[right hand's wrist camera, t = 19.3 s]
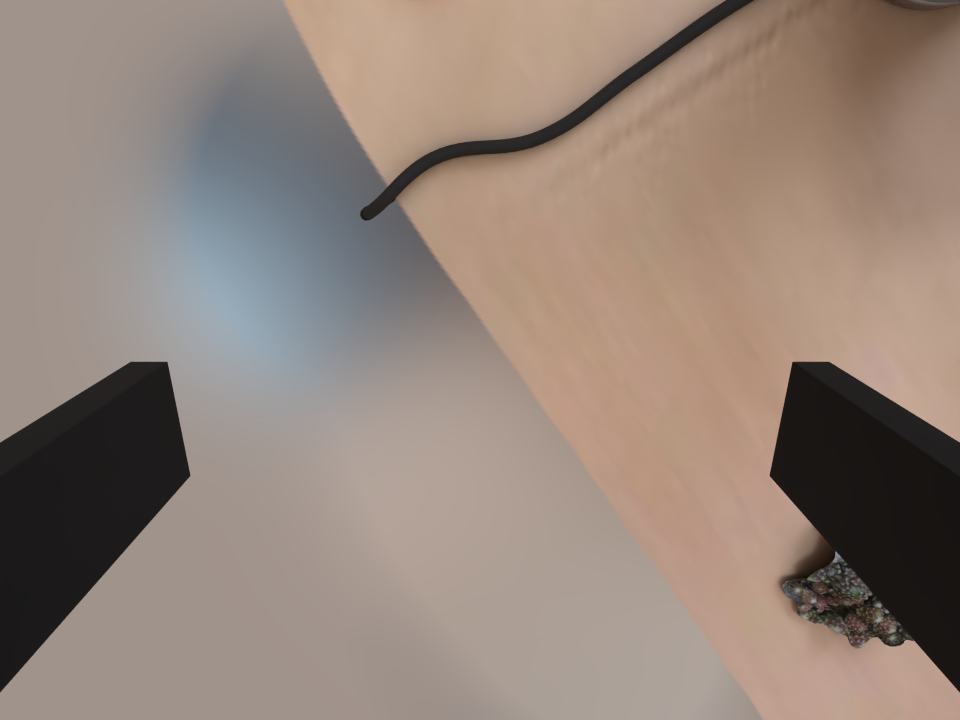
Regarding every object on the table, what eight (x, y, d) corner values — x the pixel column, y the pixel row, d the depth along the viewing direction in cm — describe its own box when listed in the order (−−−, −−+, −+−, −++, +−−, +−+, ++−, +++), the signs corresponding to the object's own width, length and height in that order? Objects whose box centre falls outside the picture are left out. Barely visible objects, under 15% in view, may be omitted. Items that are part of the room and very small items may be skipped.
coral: (858, 511, 50) (998, 522, 53) (816, 481, 55) (945, 494, 58) (801, 666, 55) (933, 670, 57) (766, 626, 60) (889, 631, 62)
